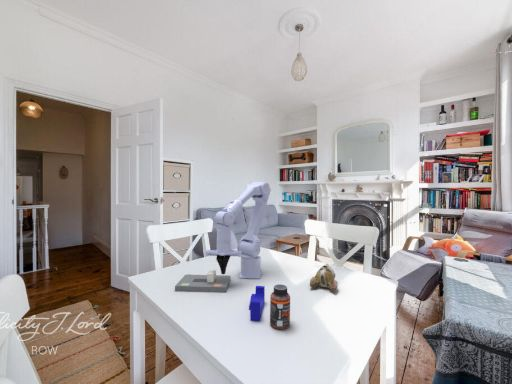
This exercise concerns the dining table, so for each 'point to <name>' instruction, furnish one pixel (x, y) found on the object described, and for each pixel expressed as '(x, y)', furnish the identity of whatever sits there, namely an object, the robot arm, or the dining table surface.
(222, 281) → the switch panel
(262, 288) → the blue stepped block
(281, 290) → the supplement bottle
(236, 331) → the dining table surface
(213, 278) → the knob
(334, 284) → the ceramic sculpture
